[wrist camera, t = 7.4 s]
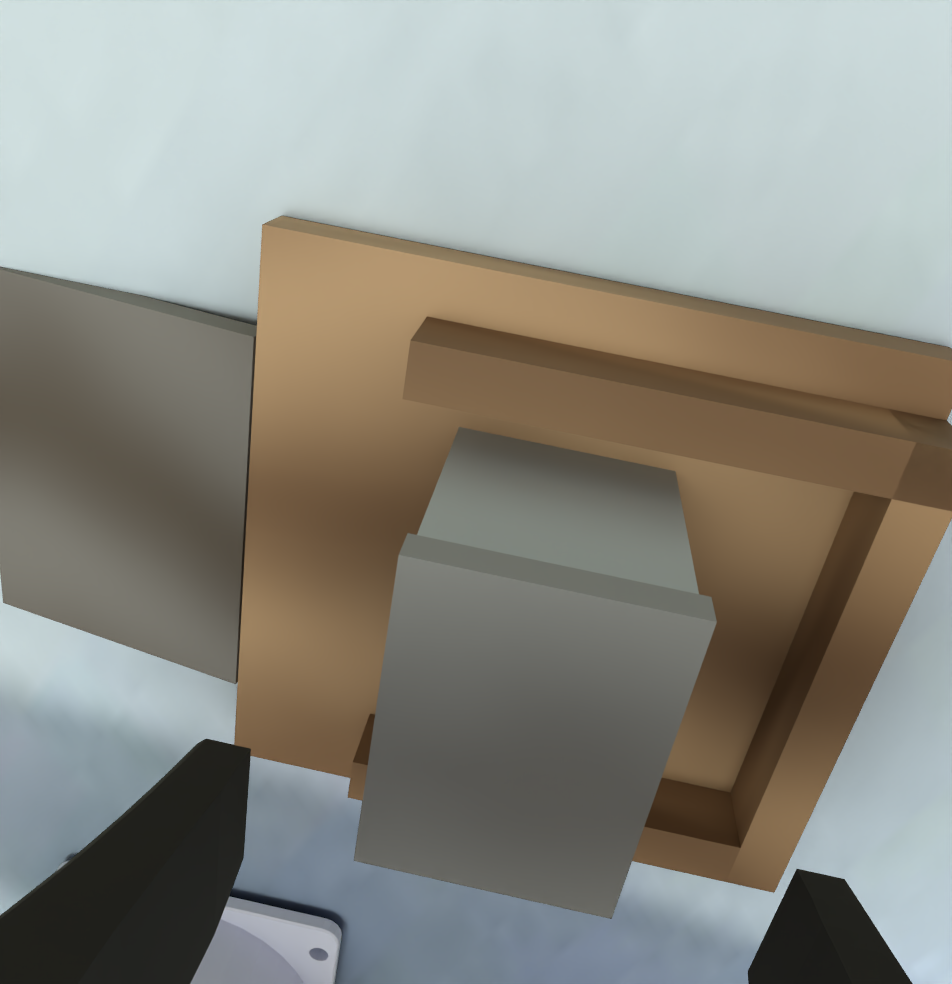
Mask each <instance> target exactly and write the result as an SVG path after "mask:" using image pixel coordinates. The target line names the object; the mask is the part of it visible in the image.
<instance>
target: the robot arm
mask: <svg viewBox="0 0 952 984" xmlns="http://www.w3.org/2000/svg"><path fill="white" fill-rule="evenodd" d="M250 754H251V749H250V748H246V747H241V746H237V745H232V744H228V743H223V742H219V741H214V740H209V739H205V740H203V741H201V742H199V743H198V744H197V745H196V746H195V747H194V748H192V749H191V750H190V751H189V752H188V753H187V754H186V755H185V756H184V757H183V758H182V759H181V760H180V761H179V762H178V763H177V764H176V765H175V766H174V767H173V768H172V769H171V770H170V771H169V772H168V773H167V774H166V775H165V776H164V777H163V778H162V779H161V780H160V781H159V782H158V783H156V784H155V785H154V786H153V787H152V788H151V789H150V790H149V791H148V792H147V793H146V794H145V795H144V796H142V797H141V798H140V799H139V800H138V801H137V802H136V803H135V804H134V805H133V806H132V807H130V808H129V809H128V810H127V811H126V812H125V813H124V814H123V815H122V816H121V817H119V818H118V819H117V820H116V821H115V822H114V823H112V824H111V825H110V826H109V827H108V828H107V829H106V830H104V831H103V832H102V833H101V834H100V835H99V836H97V837H96V838H95V839H94V840H93V841H92V842H91V843H89V844H88V845H87V846H86V847H85V848H84V849H82V850H81V851H80V852H79V853H78V854H77V855H76V856H74V857H73V858H72V859H71V860H70V861H66V862H63V863H62V864H61V865H60V866H59V867H58V869H57V870H56V872H55V873H53V874H52V875H51V876H50V877H48V878H47V879H46V880H45V881H43V882H42V883H41V884H40V885H38V886H37V887H36V888H35V889H33V890H32V891H31V892H29V893H28V894H27V895H26V896H24V897H23V898H22V899H21V900H19V901H18V902H17V903H16V904H14V905H13V906H12V907H10V908H9V909H8V910H7V911H5V912H4V913H3V914H1V915H0V984H335V978H336V971H337V964H338V958H339V951H340V944H341V937H342V933H341V929H340V928H339V926H338V925H337V924H336V923H335V922H333V921H332V920H329V919H326V918H322V917H318V916H313V915H309V914H305V913H300V912H296V911H292V910H287V909H283V908H278V907H274V906H270V905H265V904H261V903H257V902H252V901H248V900H244V899H239V898H235V897H230V893H231V890H232V888H233V885H234V882H235V879H236V877H237V874H238V871H239V869H240V866H241V863H242V860H243V857H244V843H245V828H246V813H247V798H248V784H249V769H250ZM748 981H749V984H912V982H911V981H910V979H909V978H908V976H907V975H906V973H905V972H904V970H903V969H902V967H901V965H900V964H899V962H898V961H897V959H896V958H895V956H894V955H893V953H892V952H891V950H890V949H889V947H888V945H887V944H886V942H885V941H884V939H883V938H882V936H881V935H880V933H879V932H878V930H877V928H876V927H875V925H874V924H873V922H872V921H871V919H870V918H869V916H868V915H867V913H866V911H865V910H864V908H863V907H862V905H861V904H860V902H859V901H858V899H857V898H856V896H855V894H854V893H853V891H852V890H851V888H850V887H849V885H848V884H847V882H846V881H845V879H841V878H836V877H832V876H827V875H823V874H818V873H814V872H809V871H805V870H800V869H797V870H796V872H795V874H794V876H793V878H792V880H791V882H790V884H789V886H788V888H787V891H786V893H785V895H784V897H783V899H782V901H781V903H780V905H779V907H778V909H777V911H776V914H775V916H774V918H773V920H772V922H771V924H770V926H769V928H768V930H767V932H766V934H765V937H764V939H763V941H762V943H761V945H760V947H759V949H758V951H757V953H756V955H755V958H754V960H753V962H752V964H751V966H750V968H749V970H748Z"/></svg>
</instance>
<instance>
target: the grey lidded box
mask: <svg viewBox="0 0 952 984" xmlns="http://www.w3.org/2000/svg"><path fill="white" fill-rule="evenodd" d="M716 623H717V620H716V616H715V611H714V606H713V602H712V597H710V596H705V595H700V594H699V591H698V586H697V581H696V576H695V571H694V565H693V560H692V555H691V550H690V545H689V539H688V534H687V529H686V524H685V519H684V513H683V508H682V503H681V498H680V492H679V487H678V482H677V477H676V472H675V471H672V470H667V469H662V468H658V467H653V466H648V465H643V464H638V463H633V462H628V461H623V460H618V459H614V458H609V457H604V456H599V455H594V454H589V453H584V452H579V451H574V450H570V449H565V448H560V447H555V446H550V445H545V444H540V443H535V442H531V441H526V440H521V439H516V438H511V437H506V436H501V435H496V434H491V433H487V432H482V431H477V430H472V429H467V428H462V427H459V428H458V431H457V434H456V436H455V439H454V441H453V444H452V446H451V449H450V451H449V454H448V457H447V459H446V462H445V464H444V467H443V469H442V472H441V474H440V477H439V480H438V482H437V485H436V487H435V490H434V492H433V495H432V497H431V500H430V503H429V505H428V508H427V510H426V513H425V515H424V518H423V520H422V523H421V526H420V528H419V531H418V533H417V535H415V534H410V533H407V536H406V538H405V541H404V543H403V546H402V548H401V550H400V553H399V556H398V563H397V570H396V576H395V583H394V590H393V597H392V604H391V610H390V617H389V624H388V631H387V638H386V644H385V651H384V658H383V665H382V672H381V678H380V685H379V692H378V699H377V706H376V712H375V719H374V726H373V733H372V740H371V746H370V753H369V760H368V767H367V774H366V780H365V787H364V794H363V801H362V807H361V814H360V821H359V828H358V835H357V841H356V848H355V855H354V861H357V862H362V863H366V864H371V865H375V866H379V867H384V868H388V869H393V870H397V871H402V872H406V873H410V874H415V875H419V876H424V877H428V878H433V879H437V880H441V881H446V882H450V883H455V884H459V885H464V886H468V887H472V888H477V889H481V890H486V891H490V892H495V893H499V894H503V895H508V896H512V897H517V898H521V899H526V900H530V901H534V902H539V903H543V904H548V905H552V906H557V907H561V908H565V909H570V910H574V911H579V912H583V913H588V914H592V915H596V916H601V917H605V918H610V919H611V918H612V916H613V913H614V910H615V907H616V904H617V902H618V899H619V896H620V893H621V890H622V887H623V885H624V882H625V879H626V876H627V873H628V871H629V868H630V865H631V862H632V859H633V857H634V854H635V851H636V848H637V845H638V842H639V840H640V837H641V834H642V831H643V828H644V826H645V823H646V820H647V817H648V814H649V812H650V809H651V806H652V803H653V800H654V797H655V795H656V792H657V789H658V786H659V783H660V781H661V778H662V775H663V772H664V769H665V767H666V764H667V761H668V758H669V755H670V752H671V750H672V747H673V744H674V741H675V738H676V736H677V733H678V730H679V727H680V724H681V721H682V719H683V716H684V713H685V710H686V707H687V705H688V702H689V699H690V696H691V693H692V691H693V688H694V685H695V682H696V679H697V676H698V674H699V671H700V668H701V665H702V662H703V660H704V657H705V654H706V651H707V648H708V646H709V643H710V640H711V637H712V634H713V631H714V629H715V626H716Z"/></svg>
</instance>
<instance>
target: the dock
mask: <svg viewBox="0 0 952 984" xmlns="http://www.w3.org/2000/svg"><path fill="white" fill-rule="evenodd" d="M951 409H952V349H951V348H950V347H945V346H940V345H935V344H930V343H925V342H920V341H915V340H910V339H905V338H899V337H894V336H889V335H884V334H879V333H874V332H869V331H864V330H859V329H854V328H849V327H844V326H839V325H833V324H828V323H823V322H818V321H813V320H808V319H803V318H798V317H793V316H788V315H783V314H778V313H773V312H768V311H762V310H757V309H752V308H747V307H742V306H737V305H732V304H727V303H722V302H717V301H712V300H707V299H702V298H696V297H691V296H686V295H681V294H676V293H671V292H666V291H661V290H656V289H651V288H646V287H641V286H636V285H631V284H625V283H620V282H615V281H610V280H605V279H600V278H595V277H590V276H585V275H580V274H575V273H570V272H565V271H559V270H554V269H549V268H544V267H539V266H534V265H529V264H524V263H519V262H514V261H509V260H504V259H499V258H494V257H488V256H483V255H478V254H473V253H468V252H463V251H458V250H453V249H448V248H443V247H438V246H433V245H428V244H422V243H417V242H412V241H407V240H402V239H397V238H392V237H387V236H382V235H377V234H372V233H367V232H362V231H357V230H351V229H346V228H341V227H336V226H331V225H326V224H321V223H316V222H311V221H306V220H301V219H296V218H291V217H285V216H280V217H278V218H276V219H273V220H271V221H269V222H267V223H265V224H263V225H262V242H261V260H260V279H259V297H258V316H257V326H255V325H252V324H248V323H244V322H240V321H236V320H233V319H229V318H225V317H221V316H217V315H214V314H210V313H206V312H202V311H198V310H195V309H191V308H187V307H183V306H179V305H176V304H172V303H168V302H164V301H160V300H157V299H153V298H149V297H145V296H141V295H137V294H132V293H127V292H122V291H117V290H112V289H107V288H102V287H97V286H92V285H87V284H82V283H77V282H73V281H68V280H63V279H58V278H53V277H48V276H43V275H38V274H33V273H28V272H23V271H18V270H13V269H8V268H3V267H0V573H1V583H2V594H3V603H6V604H8V605H11V606H14V607H17V608H20V609H23V610H26V611H28V612H31V613H34V614H37V615H40V616H43V617H46V618H48V619H51V620H54V621H57V622H60V623H63V624H66V625H68V626H71V627H74V628H77V629H80V630H83V631H86V632H88V633H91V634H94V635H97V636H100V637H103V638H106V639H108V640H111V641H114V642H117V643H120V644H123V645H126V646H128V647H131V648H134V649H137V650H140V651H143V652H146V653H148V654H151V655H154V656H157V657H160V658H163V659H166V660H168V661H171V662H174V663H177V664H180V665H183V666H186V667H188V668H191V669H194V670H197V671H200V672H203V673H206V674H208V675H211V676H214V677H217V678H220V679H223V680H226V681H228V682H231V683H234V684H236V683H237V682H238V687H237V706H236V725H235V743H234V745H237V746H241V747H246V748H250V749H251V754H250V756H254V757H259V758H263V759H268V760H272V761H277V762H281V763H286V764H290V765H295V766H299V767H304V768H308V769H313V770H317V771H322V772H326V773H331V774H335V775H340V776H344V777H349V778H350V785H349V792H348V798H353V799H357V800H362V801H363V794H364V787H365V780H366V774H367V767H368V760H369V753H370V746H371V740H372V733H373V726H374V719H375V712H376V706H377V699H378V692H379V685H380V678H381V672H382V665H383V658H384V651H385V644H386V638H387V631H388V624H389V617H390V610H391V604H392V597H393V590H394V583H395V576H396V570H397V563H398V556H399V553H400V550H401V548H402V546H403V543H404V541H405V538H406V536H407V533H410V534H415V535H417V533H418V531H419V528H420V526H421V523H422V520H423V518H424V515H425V513H426V510H427V508H428V505H429V503H430V500H431V497H432V495H433V492H434V490H435V487H436V485H437V482H438V480H439V477H440V474H441V472H442V469H443V467H444V464H445V462H446V459H447V457H448V454H449V451H450V449H451V446H452V444H453V441H454V439H455V436H456V434H457V431H458V428H459V427H462V428H467V429H472V430H477V431H482V432H487V433H491V434H496V435H501V436H506V437H511V438H516V439H521V440H526V441H531V442H535V443H540V444H545V445H550V446H555V447H560V448H565V449H570V450H574V451H579V452H584V453H589V454H594V455H599V456H604V457H609V458H614V459H618V460H623V461H628V462H633V463H638V464H643V465H648V466H653V467H658V468H662V469H667V470H672V471H675V472H676V477H677V482H678V487H679V492H680V498H681V503H682V508H683V513H684V519H685V524H686V529H687V534H688V539H689V545H690V550H691V555H692V560H693V565H694V571H695V576H696V581H697V586H698V591H699V594H700V595H705V596H710V597H712V602H713V606H714V611H715V616H716V620H717V623H716V626H715V629H714V631H713V634H712V637H711V640H710V643H709V646H708V648H707V651H706V654H705V657H704V660H703V662H702V665H701V668H700V671H699V674H698V676H697V679H696V682H695V685H694V688H693V691H692V693H691V696H690V699H689V702H688V705H687V707H686V710H685V713H684V716H683V719H682V721H681V724H680V727H679V730H678V733H677V736H676V738H675V741H674V744H673V747H672V750H671V752H670V755H669V758H668V761H667V764H666V767H665V769H664V772H663V775H662V778H661V781H660V783H659V786H658V789H657V792H656V795H655V797H654V800H653V803H652V806H651V809H650V812H649V814H648V817H647V820H646V823H645V826H644V828H643V831H642V834H641V837H640V840H639V842H638V845H637V848H636V851H635V854H634V857H633V859H632V861H635V862H639V863H644V864H648V865H653V866H657V867H662V868H666V869H671V870H675V871H680V872H684V873H689V874H693V875H698V876H702V877H706V878H711V879H715V880H720V881H724V882H729V883H733V884H738V885H742V886H747V887H751V888H756V889H760V890H765V891H769V892H775V890H776V888H777V886H778V884H779V881H780V879H781V877H782V875H783V873H784V871H785V869H786V867H787V865H788V862H789V860H790V858H791V856H792V854H793V852H794V850H795V848H796V846H797V843H798V841H799V839H800V837H801V835H802V833H803V831H804V829H805V827H806V825H807V822H808V820H809V818H810V816H811V814H812V812H813V810H814V808H815V806H816V803H817V801H818V799H819V797H820V795H821V793H822V791H823V789H824V787H825V784H826V782H827V780H828V778H829V776H830V774H831V772H832V770H833V768H834V765H835V763H836V761H837V759H838V757H839V755H840V753H841V751H842V749H843V746H844V744H845V742H846V740H847V738H848V736H849V734H850V732H851V730H852V727H853V725H854V723H855V721H856V719H857V717H858V715H859V713H860V711H861V708H862V706H863V704H864V702H865V700H866V698H867V696H868V694H869V692H870V689H871V687H872V685H873V683H874V681H875V679H876V677H877V675H878V673H879V670H880V668H881V666H882V664H883V662H884V660H885V658H886V656H887V654H888V651H889V649H890V647H891V645H892V643H893V641H894V639H895V637H896V635H897V632H898V630H899V628H900V626H901V624H902V622H903V620H904V618H905V616H906V613H907V611H908V609H909V607H910V605H911V603H912V601H913V599H914V597H915V595H916V592H917V590H918V588H919V586H920V584H921V582H922V580H923V578H924V576H925V573H926V571H927V569H928V567H929V565H930V563H931V561H932V559H933V557H934V554H935V552H936V550H937V548H938V546H939V544H940V542H941V540H942V538H943V535H944V533H945V531H946V529H947V527H948V525H949V523H950V521H951V519H952V425H951V424H950V423H949V422H948V421H947V418H948V416H949V414H950V412H951Z"/></svg>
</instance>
